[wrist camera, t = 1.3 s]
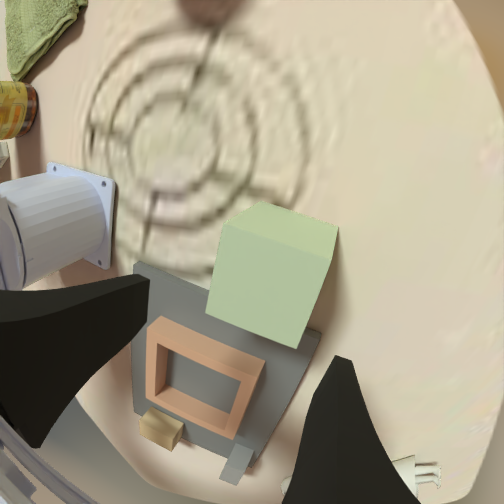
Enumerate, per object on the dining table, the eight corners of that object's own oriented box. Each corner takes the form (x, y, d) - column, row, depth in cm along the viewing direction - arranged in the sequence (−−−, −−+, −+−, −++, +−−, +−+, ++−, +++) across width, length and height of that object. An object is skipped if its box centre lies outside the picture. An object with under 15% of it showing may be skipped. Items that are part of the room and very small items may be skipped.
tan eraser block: (151, 420, 30) (140, 434, 28) (151, 406, 29) (139, 420, 27) (181, 436, 29) (171, 451, 27) (183, 423, 28) (172, 439, 26)
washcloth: (23, 90, 23) (1, 91, 21) (18, -2, 20) (1, -4, 17) (96, 13, 18) (71, 6, 15) (81, -68, 15) (63, -76, 12)
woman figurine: (440, 510, 18) (292, 518, 27) (441, 479, 22) (303, 492, 31) (440, 465, 16) (254, 477, 25) (439, 426, 20) (268, 446, 29)
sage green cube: (243, 270, 21) (205, 313, 16) (261, 200, 19) (223, 223, 14) (313, 296, 20) (296, 348, 15) (338, 226, 18) (331, 260, 13)
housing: (137, 407, 32) (120, 427, 28) (139, 261, 24) (108, 278, 20) (253, 462, 29) (242, 487, 25) (321, 333, 21) (313, 367, 17)
